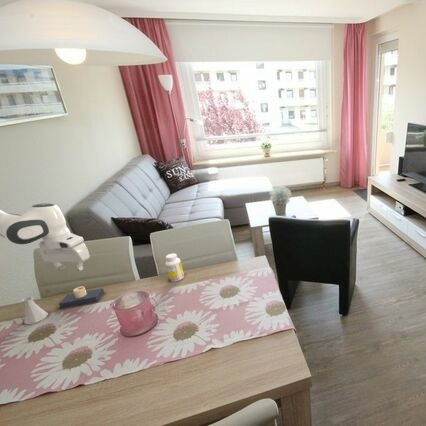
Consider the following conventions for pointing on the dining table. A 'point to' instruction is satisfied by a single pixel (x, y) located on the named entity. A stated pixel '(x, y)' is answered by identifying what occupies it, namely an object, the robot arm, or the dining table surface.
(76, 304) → the control panel
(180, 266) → the supplement bottle
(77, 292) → the small cream cake
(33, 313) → the flask
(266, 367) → the dining table surface
